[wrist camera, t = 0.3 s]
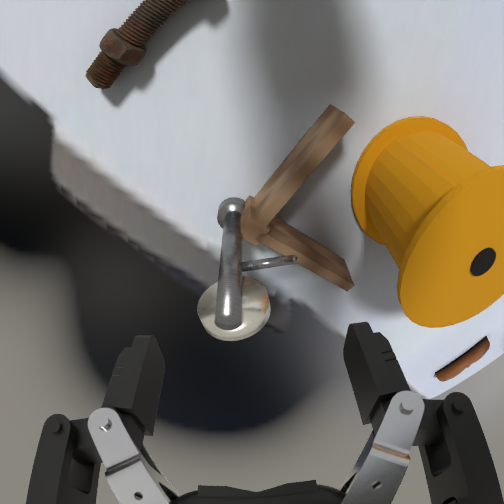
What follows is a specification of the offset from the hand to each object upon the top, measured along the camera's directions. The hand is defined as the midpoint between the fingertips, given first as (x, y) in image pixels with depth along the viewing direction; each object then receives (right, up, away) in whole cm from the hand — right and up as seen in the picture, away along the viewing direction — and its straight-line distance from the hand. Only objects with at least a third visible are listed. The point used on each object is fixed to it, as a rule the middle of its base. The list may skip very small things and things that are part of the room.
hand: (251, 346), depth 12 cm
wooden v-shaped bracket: (+5, +9, +22) cm, 24 cm away
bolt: (-10, +26, +9) cm, 29 cm away
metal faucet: (-1, +8, +22) cm, 24 cm away
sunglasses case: (+59, -25, +51) cm, 82 cm away
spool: (+20, +12, +20) cm, 31 cm away
